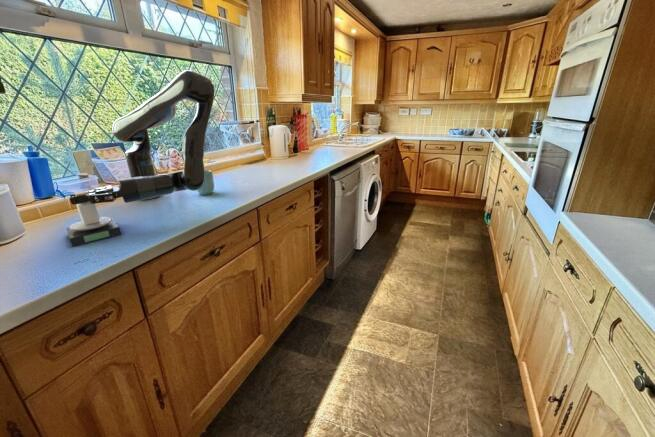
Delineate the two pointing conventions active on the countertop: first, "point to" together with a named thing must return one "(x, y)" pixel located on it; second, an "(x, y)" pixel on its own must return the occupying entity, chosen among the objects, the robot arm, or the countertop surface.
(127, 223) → the countertop surface
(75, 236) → the scale
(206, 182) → the cup
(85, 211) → the salt shaker
